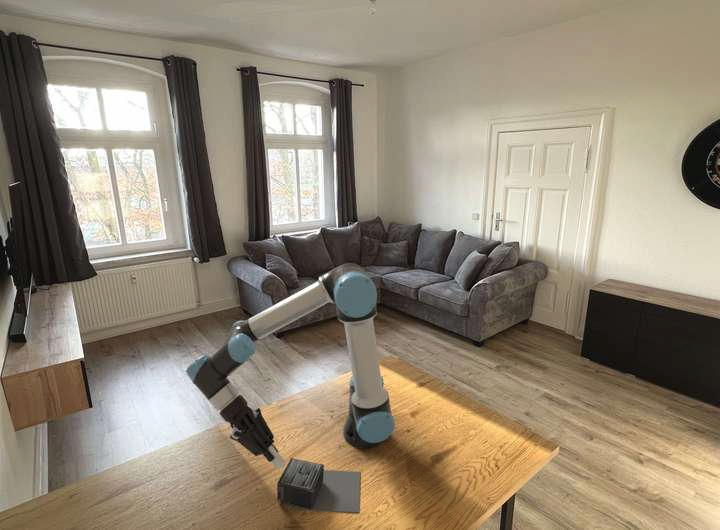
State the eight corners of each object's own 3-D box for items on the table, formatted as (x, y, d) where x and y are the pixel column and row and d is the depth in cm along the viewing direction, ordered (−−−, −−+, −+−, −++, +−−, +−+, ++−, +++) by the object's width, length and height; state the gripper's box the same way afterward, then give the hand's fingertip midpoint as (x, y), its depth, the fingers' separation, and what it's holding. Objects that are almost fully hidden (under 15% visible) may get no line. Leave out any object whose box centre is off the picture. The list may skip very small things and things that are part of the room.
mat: (360, 472, 122) (360, 471, 122) (358, 513, 107) (358, 512, 107) (299, 469, 122) (299, 468, 122) (290, 509, 107) (290, 508, 107)
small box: (276, 502, 109) (312, 510, 107) (276, 483, 108) (312, 491, 105) (291, 475, 119) (324, 481, 117) (291, 456, 118) (324, 463, 115)
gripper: (234, 397, 119) (284, 456, 119) (207, 422, 107) (262, 488, 106) (249, 384, 117) (300, 445, 116) (222, 408, 104) (279, 476, 104)
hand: (282, 466), depth 111 cm, fingers closed
